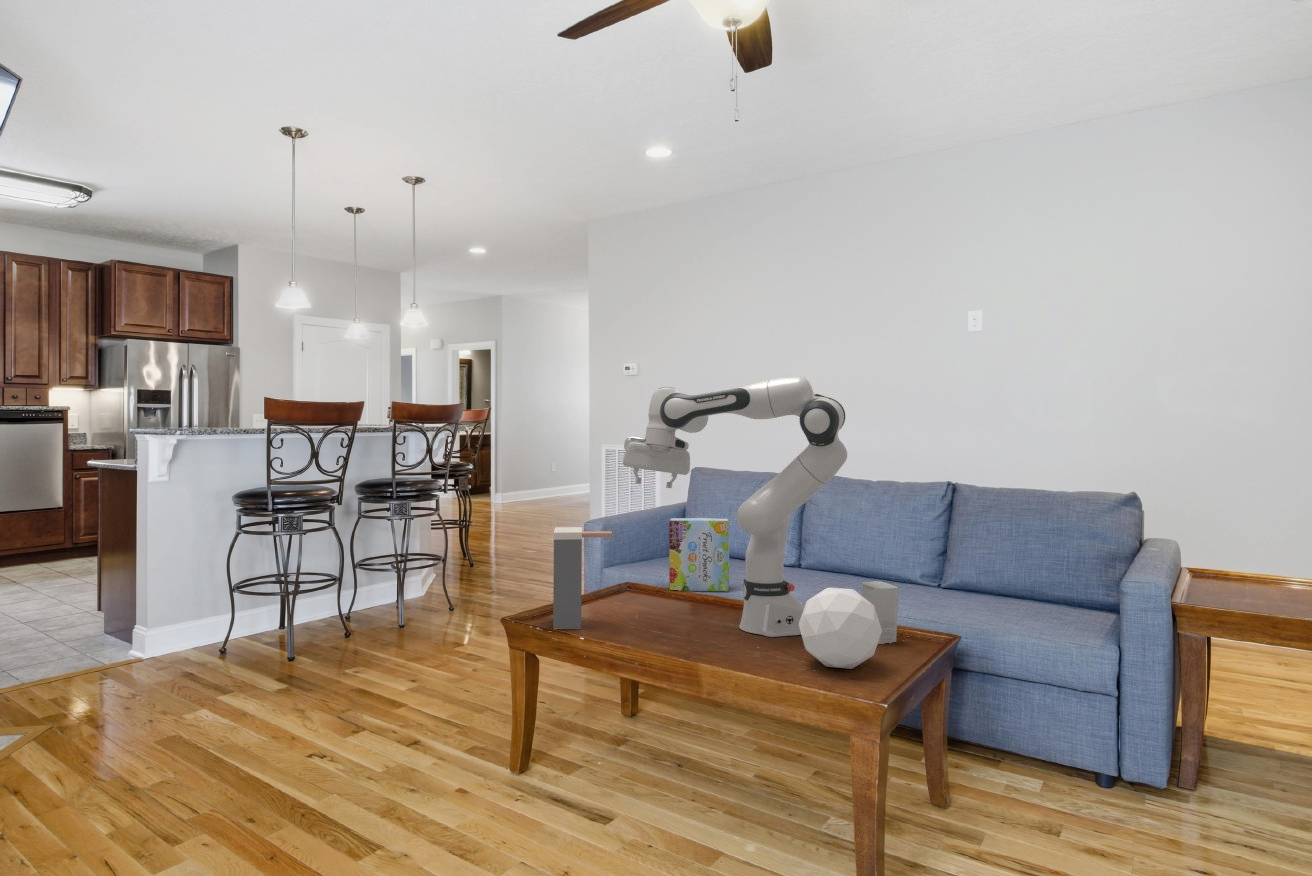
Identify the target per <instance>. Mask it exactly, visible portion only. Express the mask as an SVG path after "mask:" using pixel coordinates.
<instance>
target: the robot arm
mask: <svg viewBox="0 0 1312 876" xmlns="http://www.w3.org/2000/svg"><path fill="white" fill-rule="evenodd" d="M721 414H734V415H737V416H743V417H746V418H749V419H751V420H770V419H776V418H780V417H784V416H785V417H786V416H797V417H798V418H799V425H800V428H801V430H802V432H803V434H804V436H805V437H806V440H807V441H808V443H809V444H808V445H807V447H805V448H804V450H803V451H801V452H800V453H799V454H798V455H797V456H796V457H795V458H794V459H793V460H792V461H791V462H789V464H788V465H787V466H785V468H784V469H783V470H781V471H780V472H779V473H778V474H777V475H776V476H775V477H773V478H772V479H771V480H769V481H768V482H766V483H765V484H764V485H763V486H762V487H760V488H759V489H757V490H756V491H755V492H754V493H753V494H752V495H751V496H750V497H748V498H747V499H746V500H745V501H743V503H742V504H741V505H740V506H739V507H738V510H737V511H736V521H737V525H738V526H739V528H740V529H741V531H743V532H745V533H747V534H750V538H749V543H748V544H747V545H748V546H747V547H746V551H745V558H744V559H745V569H744V570H745V575H744V576H745V578H744V580H743V585H742V586H743V588H742V596H743V609H742V614H741V618H740V623H739V625H738V627H739V629H740V630H742V631H743V632H745V633H750V634H757V635H761V636H765V637H768V638H775V637H787V636H799V635H801V631H800V628H799V621H800V619H801V616H802V613H803V610H804V607H805V604H803V603H802V602H801V601H800V600H799V599H797V598H796V597H795V596H793V595H792V593H790V592H794V591H795V589H796V586H795V585H794V584H793V583H790V582H788V581H786V580H784V573H785V572H784V570H785V569H784V565H785V564H784V561H785V560H784V559H785V558H784V557H785V549H786V548H785V547H786V543H787V537H788V531H789V523H790V520H791V517H792V514H793V512H795V511H796V510H797V509H798V508H800V507H801V506H803V505H804V504H806V502H808V501H809V500H810V499H812V498H813V496H815V495H816V494H817V493H818V492H819V491H821V489H822V488H823V487H824V486H825V485H826V484H827V483H828V482H829V481H831V480H832V478H833V477H835V475H836V474H837V473H838V472H839V470H840V469H841V468H842V467H843V465H845V463H846V461H847V459H848V450H847V448H846V447H845V444H844V443H843V442H842V441H841V440H840V438H839V432H840V430H841V429H842V428H843V426H844V424H845V421H846V412H845V409H844V406H843V405H842V404H841V403H840V402H839V401H837V400H836V399H834V398H832V397H828V396H825V395H822V394H819V393H814V391H813V388H812V384H811V383H810V381H809V380H808V379H807V378H806V377H804V376H795V375H794V376H782V377H777V378H776V377H775V378H771V379H766V380H762V381H759V382H755V383H754V382H753V383H751V384H747V385H743V386H740V387H739V386H738V387H734V388H732V389H724V390H718V391H713V392H707V393H706V392H705V393H700V394H692V395H691V394H686V393H682V392H680V391H679V389H678V388H675V387H670V386H668V387H667V386H664V387H663V386H662V387H659V388H657V389H655V390H654V392H653V393H652V396H651V398H650V404H649V407H648V422H647V423H648V424H647V426H646V431H645V437H635V436H630V437H627V438H626V439H625V441H624V444H623V445H624V446H623V447H624V450H625V452H624V455H623V459H622V464H623V466H624V467H626V468H633V469H632V470H633V474H634V476H635V484H638V485H641V484H642V478H641V477H639V474H638V473H639V472H640V470H649V471H656V472H661V473H662V472H663V473H667V474H669V473H670V474H671V480H669V481H667V482H666V486H665V487H666V488H667V489H672V488H673V483H674V481H675V480H677V478H678V475H684V476H685V475H688V474H689V473H690V470H691V469H690V468H691V456H690V452H689V451H688V449H689V447H690V446H689V443H688V442H687V441H685V440H683V439H681V438H678V437H677V436H676V431H677V430H680V431H682V432H685V433H689V434H695V433H699V432H700V431H703V429H705V427H706V426H707V424H708V421H709V416H714V415H721ZM801 636H802V635H801Z"/></svg>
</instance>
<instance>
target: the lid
mask: <svg viewBox="0 0 1312 876" xmlns="http://www.w3.org/2000/svg"><path fill="white" fill-rule="evenodd" d="M582 527H583V526H573V527H572V526H565V527H564V526H559V527H558V526H555V527H554V531H553V541H554V540H568V539H582V540H583V538H613V536H614V535H613V534H614V533H613V531H612V530H611V531H610V530H609V531H605V530H603V531H599V530H597V531H594V530H593V531H583V528H582Z"/></svg>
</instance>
